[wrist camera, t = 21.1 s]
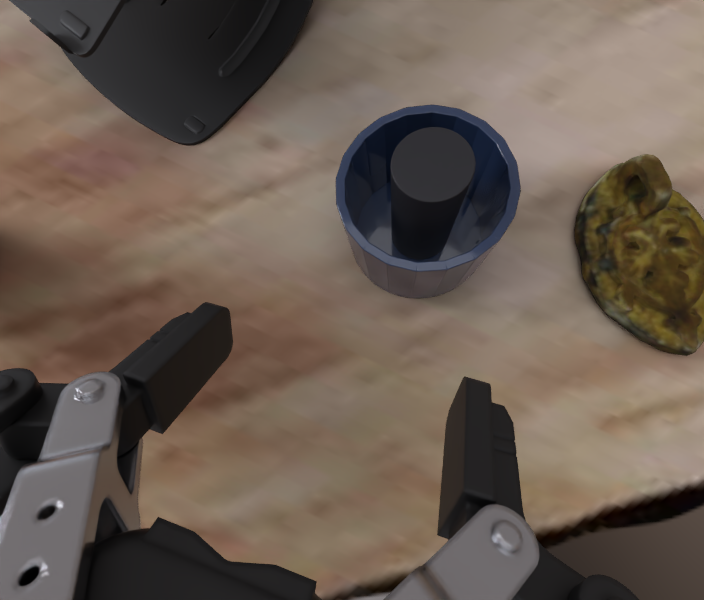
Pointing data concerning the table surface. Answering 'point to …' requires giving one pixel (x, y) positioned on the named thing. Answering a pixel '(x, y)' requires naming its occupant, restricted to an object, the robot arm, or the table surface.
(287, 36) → the laptop stand
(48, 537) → the robot arm
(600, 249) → the bronze pendant
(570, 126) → the table surface
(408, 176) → the canister
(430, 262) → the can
